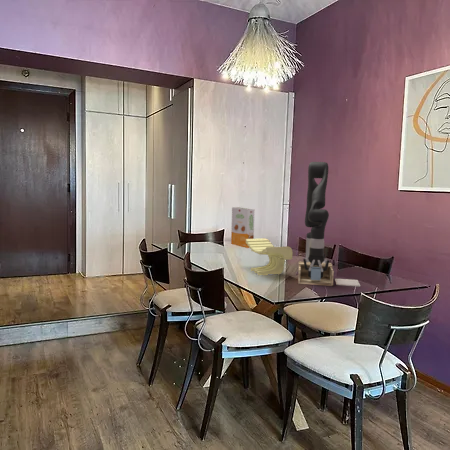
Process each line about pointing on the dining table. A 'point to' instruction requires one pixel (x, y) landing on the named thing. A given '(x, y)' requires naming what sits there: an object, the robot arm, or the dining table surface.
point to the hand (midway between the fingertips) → (315, 277)
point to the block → (315, 273)
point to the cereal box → (242, 226)
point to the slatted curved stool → (274, 253)
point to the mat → (347, 282)
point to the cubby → (305, 279)
